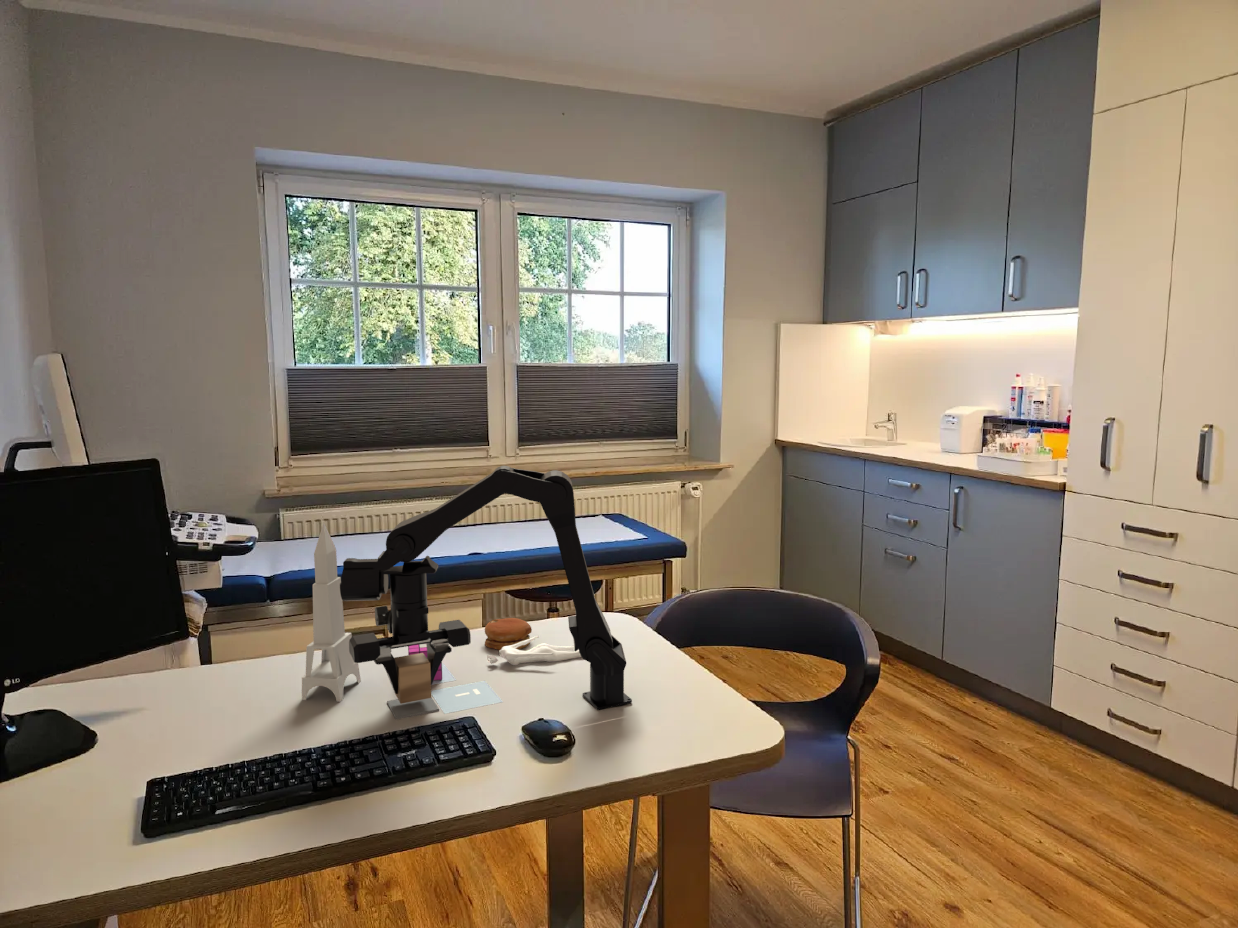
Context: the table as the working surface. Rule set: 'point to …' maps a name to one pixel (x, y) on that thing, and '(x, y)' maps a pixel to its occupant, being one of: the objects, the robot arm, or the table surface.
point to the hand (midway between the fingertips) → (412, 689)
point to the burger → (507, 633)
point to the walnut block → (413, 678)
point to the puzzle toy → (423, 649)
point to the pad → (412, 707)
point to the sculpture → (328, 626)
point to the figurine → (535, 653)
